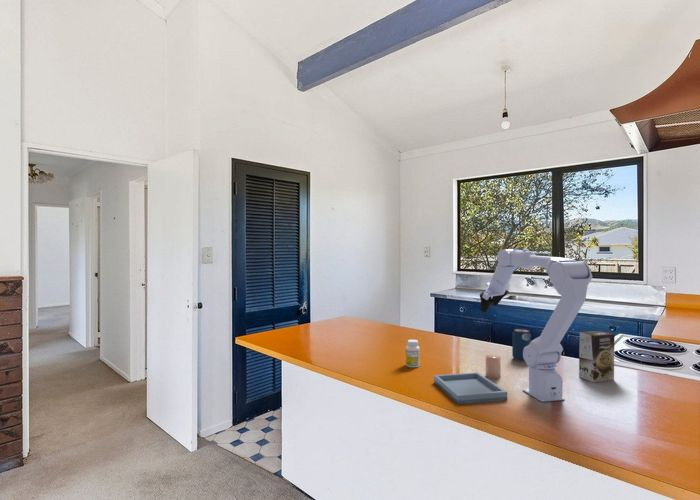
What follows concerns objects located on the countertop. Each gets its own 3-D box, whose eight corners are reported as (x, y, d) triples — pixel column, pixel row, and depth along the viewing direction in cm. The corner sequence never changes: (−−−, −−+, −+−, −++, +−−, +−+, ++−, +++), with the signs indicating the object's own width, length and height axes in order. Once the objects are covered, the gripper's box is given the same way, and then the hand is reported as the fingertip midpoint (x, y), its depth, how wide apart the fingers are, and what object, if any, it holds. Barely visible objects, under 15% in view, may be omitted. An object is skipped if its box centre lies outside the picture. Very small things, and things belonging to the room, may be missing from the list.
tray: (507, 400, 117) (507, 391, 117) (457, 404, 114) (457, 395, 114) (477, 379, 135) (477, 372, 135) (434, 382, 132) (434, 375, 132)
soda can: (532, 362, 153) (533, 332, 153) (514, 361, 155) (514, 331, 155) (528, 357, 160) (528, 328, 160) (510, 356, 162) (510, 327, 161)
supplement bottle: (410, 362, 154) (410, 338, 154) (422, 365, 151) (422, 340, 151) (403, 365, 150) (403, 340, 150) (415, 368, 147) (415, 343, 147)
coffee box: (594, 383, 131) (594, 335, 130) (578, 376, 137) (578, 331, 137) (615, 380, 133) (615, 333, 133) (598, 374, 139) (598, 329, 139)
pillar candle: (503, 378, 136) (503, 358, 136) (490, 379, 135) (490, 359, 135) (495, 373, 141) (495, 354, 141) (482, 374, 140) (482, 355, 140)
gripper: (501, 267, 146) (489, 295, 153) (480, 278, 137) (468, 308, 144) (518, 277, 142) (505, 305, 149) (497, 289, 133) (485, 319, 140)
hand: (488, 307), depth 146 cm, fingers open, 7 cm apart
